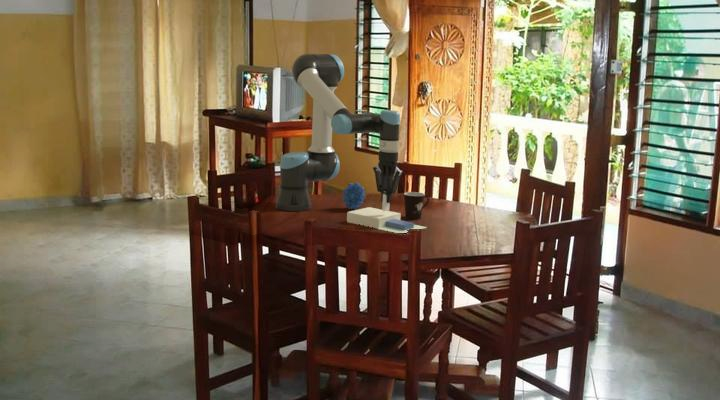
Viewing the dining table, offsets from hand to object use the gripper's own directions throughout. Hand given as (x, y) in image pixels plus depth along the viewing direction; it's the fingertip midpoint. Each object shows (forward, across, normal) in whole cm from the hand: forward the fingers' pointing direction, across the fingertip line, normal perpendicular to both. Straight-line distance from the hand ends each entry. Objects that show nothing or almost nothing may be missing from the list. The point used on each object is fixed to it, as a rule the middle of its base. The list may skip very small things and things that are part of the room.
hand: (385, 210), depth 302 cm
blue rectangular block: (+5, +7, 0) cm, 9 cm away
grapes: (+6, -26, +14) cm, 31 cm away
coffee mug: (+6, +2, +20) cm, 21 cm away
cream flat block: (+6, -6, 0) cm, 8 cm away
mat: (+6, +8, 0) cm, 10 cm away
